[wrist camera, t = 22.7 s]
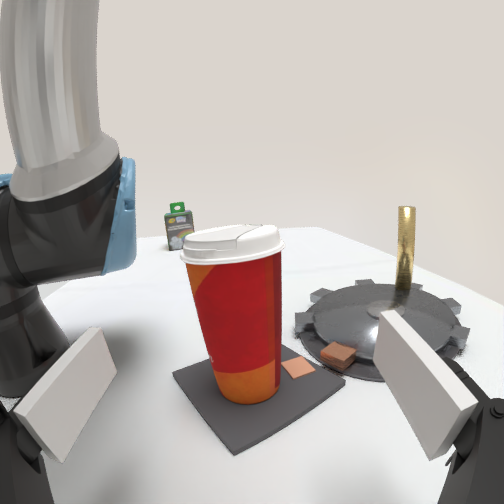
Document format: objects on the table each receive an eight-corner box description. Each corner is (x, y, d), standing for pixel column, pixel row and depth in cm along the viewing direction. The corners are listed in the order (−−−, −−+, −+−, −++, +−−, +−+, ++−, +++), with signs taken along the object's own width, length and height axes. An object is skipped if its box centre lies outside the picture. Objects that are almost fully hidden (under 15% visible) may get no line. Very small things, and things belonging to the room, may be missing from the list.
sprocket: (372, 412, 17) (400, 247, 14) (269, 308, 38) (262, 213, 35) (491, 323, 23) (508, 220, 20) (386, 277, 44) (388, 202, 41)
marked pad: (173, 376, 25) (171, 370, 25) (266, 338, 32) (266, 333, 31) (234, 455, 15) (232, 450, 15) (344, 384, 22) (345, 378, 22)
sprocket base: (263, 330, 34) (263, 326, 34) (361, 282, 46) (361, 280, 45) (421, 413, 16) (423, 409, 16) (476, 313, 28) (477, 310, 28)
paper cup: (244, 352, 28) (227, 222, 25) (307, 374, 23) (303, 223, 20) (190, 390, 22) (155, 240, 19) (256, 427, 17) (232, 246, 14)
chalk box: (194, 242, 95) (189, 200, 91) (196, 247, 86) (191, 201, 83) (168, 245, 93) (163, 203, 89) (168, 251, 84) (162, 204, 80)
